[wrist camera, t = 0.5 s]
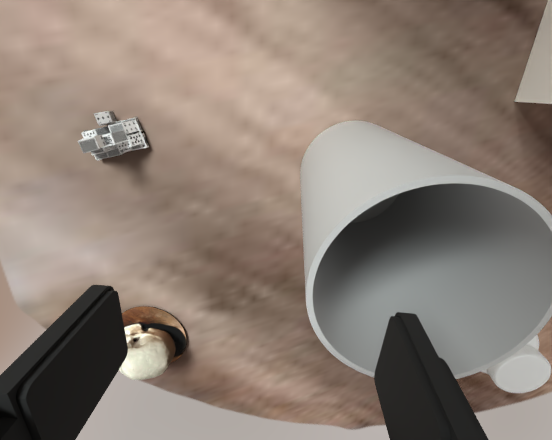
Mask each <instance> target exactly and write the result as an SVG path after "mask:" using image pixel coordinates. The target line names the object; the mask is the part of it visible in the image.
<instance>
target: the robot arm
mask: <svg viewBox="0 0 552 440" xmlns="http://www.w3.org/2000/svg"><path fill="white" fill-rule="evenodd" d="M127 353H128V346H127V340H126V335H125V329H124V324H123V318H122V313H121V307H120V302H119V296H118V293H117V291H114V289H113V288H112V287H111V286H103V285H92V286H91V287H90V288H89V289H88V290H87V291H86V292H85V293H84V294H83V295H82V296H80V297H79V298H78V299H77V300H76V301H75V302H74V303H73V304H72V305H71V306H70V307H69V308H68V309H67V310H66V311H65V312H64V313H63V314H62V315H61V316H60V317H59V318H58V319H57V320H56V321H55V322H54V323H53V324H52V325H51V326H50V327H49V328H48V329H47V330H46V331H45V332H44V333H43V334H42V335H41V336H40V337H39V338H38V339H37V340H36V341H35V342H34V343H33V344H32V345H31V346H30V347H29V348H28V349H27V350H26V351H25V352H24V353H23V354H21V356H19V357H18V359H16V360H15V361H14V362H13V363H12V364H11V366H9V367H8V368H7V369H6V370H5V371H4V372H3V373H2V374H1V375H0V440H75V439H76V438H77V436H78V434H79V433H80V431H81V429H82V428H83V426H84V425H85V423H86V421H87V420H88V418H89V417H90V415H91V413H92V412H93V410H94V409H95V407H96V405H97V404H98V402H99V401H100V399H101V397H102V396H103V394H104V393H105V391H106V389H107V388H108V386H109V384H110V383H111V381H112V380H113V378H114V376H115V375H116V373H117V372H118V370H119V368H120V367H121V365H122V364H123V362H124V360H125V359H126V356H127ZM374 379H375V385H376V389H377V393H378V396H379V400H380V404H381V408H382V411H383V415H384V419H385V423H386V427H387V430H388V434H389V438H390V440H488V438H487V436H486V434H485V433H484V431H483V429H482V427H481V425H480V423H479V421H478V420H477V418H476V416H475V414H474V412H473V410H472V408H471V407H470V405H469V403H468V401H467V399H466V397H465V396H464V394H463V392H462V390H461V388H460V386H459V384H458V383H457V381H456V379H455V377H454V375H453V373H452V372H451V370H450V368H449V366H448V364H447V363H446V361H445V360H444V359H442V358H439V356H438V355H437V353H436V351H435V349H434V347H433V345H432V343H431V341H430V339H429V337H428V336H427V334H426V332H425V330H424V328H423V326H422V324H421V322H420V320H419V318H418V317H417V315H416V314H413V313H402V312H397V313H396V314H395V316H391V317H390V319H389V322H388V326H387V329H386V333H385V337H384V340H383V344H382V348H381V351H380V355H379V358H378V362H377V366H376V369H375V375H374Z"/></svg>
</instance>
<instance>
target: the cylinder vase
mask: <svg viewBox="0 0 552 440" xmlns="http://www.w3.org/2000/svg"><path fill="white" fill-rule="evenodd" d="M300 183H301V204H302V225H303V246H304V268H305V289H306V305H307V311H308V316H309V319H310V322H311V324H312V327H313V329H314V331H315V333H316V335H317V336H318V338H319V339H320V341H321V342H322V344H323V345H324V346H325V347H326V348H327V349H328V350H329V351H330V352H331V353H332V354H333V355H334V356H335V357H336V358H337V359H339V360H340V361H341V362H343V363H344V364H346V365H347V366H349V367H351V368H353V369H354V370H356V371H359V372H361V373H363V374H366V375H368V376H371V377H374V375H375V369H376V366H377V362H378V358H379V355H380V351H381V348H382V344H383V340H384V337H385V333H386V329H387V326H388V322H389V319H390V317H391V316H395V314H396V313H397V312H402V313H413V314H416V315H417V317H418V318H419V320H420V322H421V324H422V326H423V328H424V330H425V332H426V334H427V336H428V337H429V339H430V341H431V343H432V345H433V347H434V349H435V351H436V353H437V355H438V356H439V358H442V359H444V360H445V361H446V363H447V364H448V366H449V368H450V370H451V372H452V373H453V375H454V377H455V379H459V378H462V377H466V376H469V375H472V374H475V373H478V372H480V371H483V370H485V369H488V368H490V367H492V366H494V365H496V364H498V363H500V362H501V361H503V360H505V359H507V358H508V357H510V356H511V355H513V354H514V353H516V352H517V351H518V350H520V349H521V348H522V347H524V346H525V345H526V344H527V343H528V342H530V341H531V340H532V339H533V338H534V337H535V336H536V335H537V334H538V333H539V332H540V331H541V329H542V328H543V327H544V326H545V325H546V323H547V322H548V321H549V319H550V318H551V316H552V215H551V214H550V213H549V212H548V210H547V209H546V208H545V207H544V206H543V205H542V204H540V203H539V202H538V201H537V200H536V199H534V198H533V197H531V196H530V195H528V194H527V193H525V192H523V191H521V190H520V189H518V188H515V187H513V186H511V185H509V184H507V183H504V182H502V181H500V180H498V179H496V178H493V177H491V176H489V175H487V174H485V173H482V172H480V171H478V170H476V169H473V168H471V167H469V166H467V165H465V164H462V163H460V162H458V161H456V160H454V159H451V158H449V157H447V156H445V155H443V154H440V153H438V152H436V151H434V150H431V149H429V148H427V147H425V146H423V145H420V144H418V143H416V142H414V141H412V140H409V139H407V138H405V137H403V136H400V135H398V134H396V133H394V132H392V131H389V130H387V129H385V128H383V127H381V126H378V125H376V124H374V123H370V122H366V121H346V122H341V123H338V124H336V125H333V126H331V127H329V128H327V129H326V130H324V131H323V132H322V133H320V134H319V135H318V136H317V137H316V138H315V139H314V140H313V141H312V142H311V144H310V145H309V147H308V148H307V150H306V152H305V154H304V157H303V160H302V163H301V169H300Z"/></svg>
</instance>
